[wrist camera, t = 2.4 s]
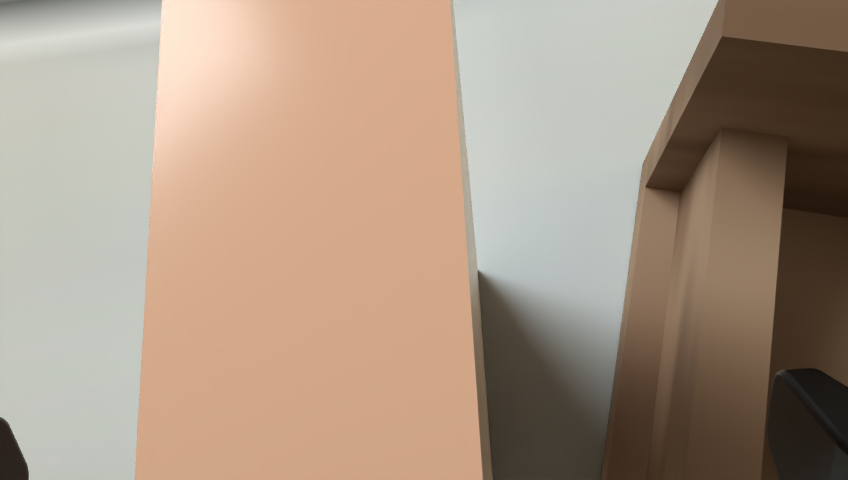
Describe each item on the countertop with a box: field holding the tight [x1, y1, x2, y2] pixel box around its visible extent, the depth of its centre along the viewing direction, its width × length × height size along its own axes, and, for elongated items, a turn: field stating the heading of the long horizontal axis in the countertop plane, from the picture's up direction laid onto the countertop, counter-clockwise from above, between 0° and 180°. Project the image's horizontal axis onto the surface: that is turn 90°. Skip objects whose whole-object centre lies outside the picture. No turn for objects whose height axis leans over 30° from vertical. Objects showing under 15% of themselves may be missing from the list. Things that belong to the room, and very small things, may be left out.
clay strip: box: [135, 0, 493, 480], centre depth 12 cm, size 5×2×13 cm, turn 3°
